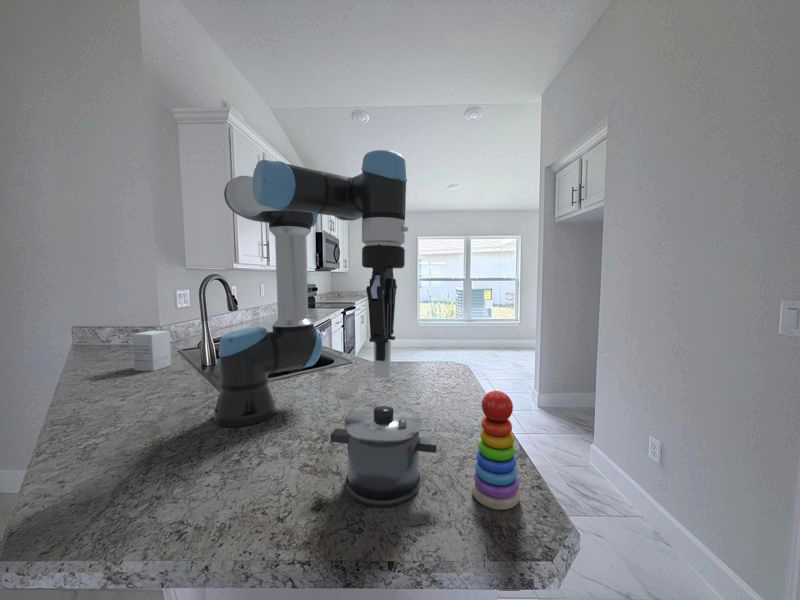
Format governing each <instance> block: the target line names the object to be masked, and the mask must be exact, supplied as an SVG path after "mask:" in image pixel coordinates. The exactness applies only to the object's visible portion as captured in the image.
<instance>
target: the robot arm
mask: <svg viewBox="0 0 800 600" xmlns="http://www.w3.org/2000/svg"><path fill="white" fill-rule="evenodd" d="M361 172H362V173H360V174H358V175H356V176H353V177H349V176H346V175H345V176H344V175H340V174H336V173H331V172H327V171H320V170H315V169H310V168H306V167H302V166H298V165H294V164H289V163H285V162H284V161H279V160H276V161H274V160H268V159H267V160H266V159H260V160H259V161H258V162H256V165H255V168H254V170H253V176H250V175H239V176H236V177H234V178H232V179H230V180H229V181H228V182H227V183H226V185H225V187H224V190H223V195H224V196H223V197H224V201H225V203H226V205H227V207H228V208H229V209H230V211H232V212H233V213H235V214H236V215H237V216H239V217H241V218H244V219H246V220H249V221H254V222H258V223H259V222H260V223H266V224H267V223H268V231H269V232H270V233H271V234H272V235H273V236H274V242H275V243H274V245H275V246H274V247H275V272H276V273H275V274H276V275H275V276H276V295H277V296H276V300H277V302H276V303H277V304H276V305H277V319H276V321H275V322H273V324H272V331H269V332H268V330H267V329H266V327H259V326H257V327H247V328H243V329H242V328H241V329H239V330H234V331H231V332H229V333H228V332H227V333H225V334H224V335H223V336H222V337H221V338H220V339H219V346H218V356H219V375H220V376H219V377H220V378H219V381H220V383H219V385H220V391H219V395H218V397H217V401H216V404H215V408H214V409H213V410H214V411H213V421H214V424H216V425H218V426H220V427H226V428H227V427H228V428H235V427H244V426H245V427H246V426H251V425H255V424H258V423H260V422H264V421H265V420H267V419H270V417H272V416H273V415H274V414H275V413H276V402H275V400H274V397H273V394H272V392H271V389H270V386H269V384H268V383H269V380H268V377H269V375H270V374H275V373H281V372H286V371H291V370H292V371H293V370H302V369H304V368H309V367H312V366H314V365H316V363H317V362H318V360H319V359H320V357H321V354H322V349H323V338H322V335H321V331H320V330H319V328H317V327H315V324H314V321H313V320H312V319H311V318H310V317H309V299H308V298H309V297H308V269H307V268H308V267H307V265H308V264H307V259H308V258H307V236H308V235H309V234H310V233H311V232H312V228H313V227H315V226H316V224H317V222H318V217H319V215H325V216H333V217H335V218H336V219H337V220H340V221H345V222H347V221H350V222H351V221H356V220H359V219H361V218H362V219H361V243H362V244H365V245H364V246H363V247H362V248H361V265H362V267H363V268H366V269H372V270H371V271H372V272H371V278H369V285H367V287H366V290H365V291H366V296H367V301H368V318H369V319H368V320H369V335H370V338H369V339H368V340H369V343H373V354H374V355H373V378H379V379H380V378H381V379H389V378H390V377H391V351H392V350H391V348H392V347H391V345H392V343H391V341H395V340H396V336H395V335H393V334H394V328H395V327H394V325H395V310H396V309H395V307H396V294H397V289H398V285H397V280H396V278H395V277H394V269H403V268H404V267H405V261H406V260H405V259H406V258H405V255H406V254H405V253H406V250H405V248H404V246H402V245H403V244H404V243H405V242H406V241H405V238H406V237H405V236H406V235H405V233H407V232H408V231H409V226H407V225H406V222H405V221H406V200H407V198H406V196H407V181H408V180H407V170H406V160H405V158H404V157H403V155H401V154H400V153H398V152H396V151H392V150H387V149H377V150H372V151H368V152H367V153H365V155H364V156H363V159H362V165H361Z"/></svg>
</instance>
